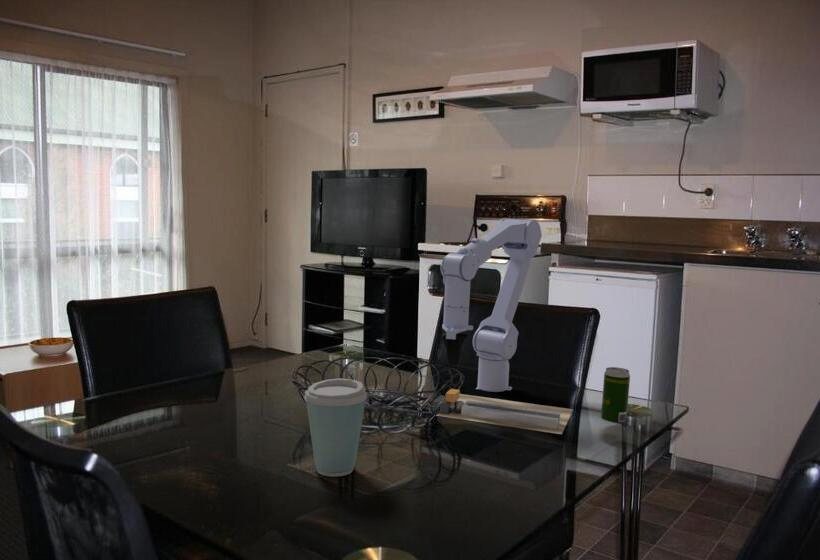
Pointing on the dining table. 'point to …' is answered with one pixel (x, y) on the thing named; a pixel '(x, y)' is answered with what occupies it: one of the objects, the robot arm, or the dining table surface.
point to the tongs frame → (499, 415)
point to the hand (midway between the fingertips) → (453, 364)
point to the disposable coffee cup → (335, 424)
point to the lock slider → (452, 395)
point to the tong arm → (506, 409)
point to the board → (564, 412)
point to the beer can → (615, 394)
